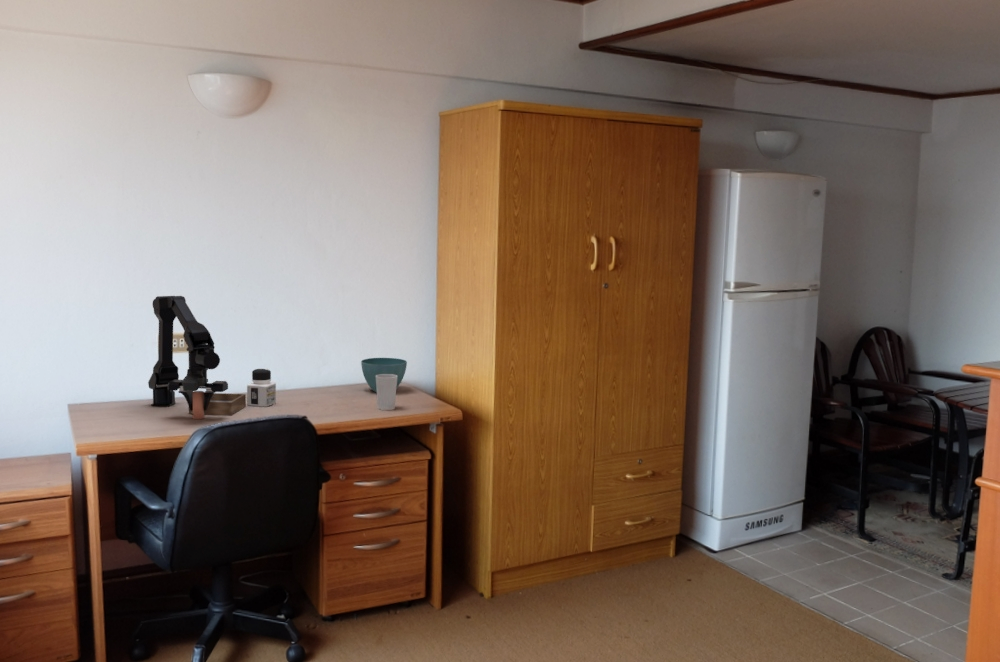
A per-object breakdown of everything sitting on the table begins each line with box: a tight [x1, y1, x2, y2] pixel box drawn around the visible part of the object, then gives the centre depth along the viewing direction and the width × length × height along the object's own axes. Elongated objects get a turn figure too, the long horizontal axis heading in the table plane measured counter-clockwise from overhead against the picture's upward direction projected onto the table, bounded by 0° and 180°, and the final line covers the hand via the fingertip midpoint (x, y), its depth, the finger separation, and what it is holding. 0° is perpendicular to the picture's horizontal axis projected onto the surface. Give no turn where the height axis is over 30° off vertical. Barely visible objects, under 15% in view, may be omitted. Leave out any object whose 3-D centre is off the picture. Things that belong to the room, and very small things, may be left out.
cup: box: [376, 374, 398, 411], centre depth 314 cm, size 8×8×12 cm
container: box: [246, 368, 277, 408], centre depth 315 cm, size 8×8×13 cm
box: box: [188, 392, 247, 416], centre depth 304 cm, size 15×15×4 cm
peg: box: [192, 390, 205, 420], centre depth 291 cm, size 4×4×9 cm
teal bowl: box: [360, 357, 408, 393], centre depth 346 cm, size 18×18×12 cm
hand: (198, 410), depth 291 cm, fingers open, 4 cm apart
